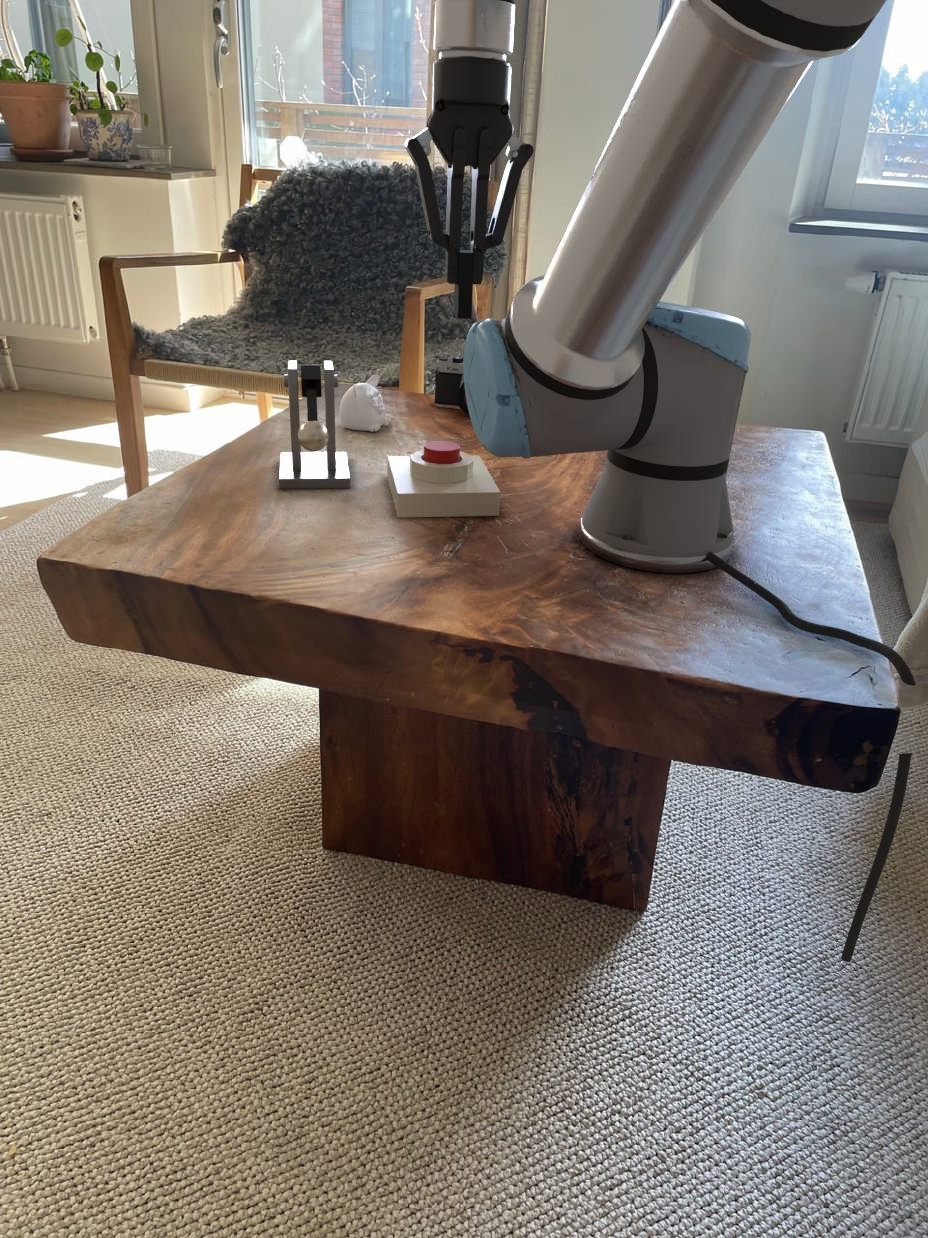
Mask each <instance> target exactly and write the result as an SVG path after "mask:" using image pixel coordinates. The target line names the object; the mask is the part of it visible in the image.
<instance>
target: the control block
mask: <svg viewBox="0 0 928 1238" xmlns="http://www.w3.org/2000/svg"><path fill="white" fill-rule="evenodd" d="M386 457H387V458H386V463H387V464H386V467H387V468H386V471H387V472H386V473H387V474H386V477H387V482H388V486H389V490H390V494H391V498H392V502H393V505H394V510H395V513H396V517H397V518H452V517H454V518H455V517H456V518H457V517H499V516H500V505H501V491H500V489H499V487H498V485H497V483H496V482H495V481H494V478H493V476H492V475H491V473H490V472H489V470H488V468H487V466H486V464H485V463H484V461H483V459H482V457H481V456H480V455H471V454H469V453H466V452H465V451H462V450H460V462H458V463H453V464H435V463H429V462H427V461H424V449H421V450H416V451H415V452H413V453H411V454H410V455H387V456H386Z"/></svg>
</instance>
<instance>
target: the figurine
mask: <svg viewBox="0 0 928 1238" xmlns="http://www.w3.org/2000/svg"><path fill="white" fill-rule="evenodd" d="M379 382H380V376H379V374H376V373H375V374H372V375H370V377H369V378H368V379H367V380H366V381H365V382H358V383H354V384H353V385H352V386H350V387H349V388H348V389H347V390H346V392H345V393H344V395H343V396H342V398H341V401H340V405H339V408H338V409H339V410H338V411H339V419H340V422H341V425H342V426H343V427H344V428H346V429H348V430H352V431H353V430H354V431H363V432H368V431H369V432H370V433H373V432H376V433H377V432H378V431H380V430H381V427H387V426H388V425H389V424H390V421H389V419H388V418H387V415H386V414H387V413H386V408H385V407H386V406H385V404H384V399H383V395H382V393H383V391H381V390H380V391H379V390H378V389H377V388H376V387H377V386H378V384H379Z"/></svg>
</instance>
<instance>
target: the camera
mask: <svg viewBox="0 0 928 1238" xmlns="http://www.w3.org/2000/svg"><path fill="white" fill-rule="evenodd" d="M433 372H434V374H435V376H434V377H435V379H434V385H435V386H434V401H433V402H434V406H435V407H439V408H449V409H457V410H461V411H462V412H463V413H464V414H466V415H468V416H470V415H469V410H468V406H467V400H466V394H465V385H464V356H459V355H458V356H457V355H456V356H452V357H446V356H440V357H438V358H437V360H436V361H435V366H434V371H433Z"/></svg>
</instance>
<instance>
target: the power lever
mask: <svg viewBox="0 0 928 1238" xmlns="http://www.w3.org/2000/svg"><path fill="white" fill-rule="evenodd" d="M321 367H322V366H321V365H320V364H300V384H301V387H300V388H301V398H306V412H307V413H306V416H307V417H306V418H307V421H306V422H303V424H301V425H300V429H299V431H298V440H299V443H300V444H301V448H303V449H304V450H306V451H308V452H320V451H321V450H323V449H324V448H326V444H327V442H328V431H327V429H326V425H324V424H323V423H322V422H320V421H319V419H318V417H319V416H318V414H319V413H318V398H322V396H323V395H322V393H323V392H322V369H321Z"/></svg>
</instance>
